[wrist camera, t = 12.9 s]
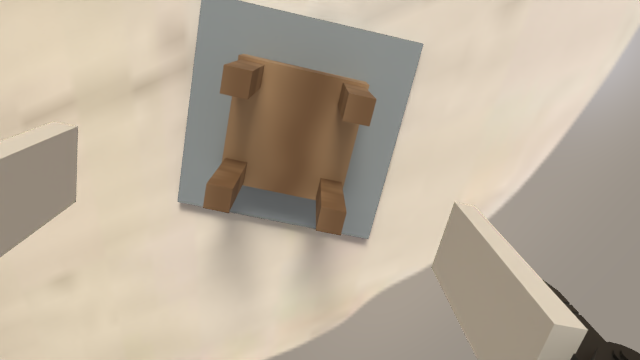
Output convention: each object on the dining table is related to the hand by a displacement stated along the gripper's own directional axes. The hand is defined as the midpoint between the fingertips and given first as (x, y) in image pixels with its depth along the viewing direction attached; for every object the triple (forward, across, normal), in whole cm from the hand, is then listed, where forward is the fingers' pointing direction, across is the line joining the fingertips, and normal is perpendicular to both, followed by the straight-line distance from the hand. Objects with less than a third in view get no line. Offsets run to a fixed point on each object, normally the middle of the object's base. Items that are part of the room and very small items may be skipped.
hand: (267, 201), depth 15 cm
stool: (+14, 0, -1) cm, 14 cm away
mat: (+15, 0, 0) cm, 15 cm away
